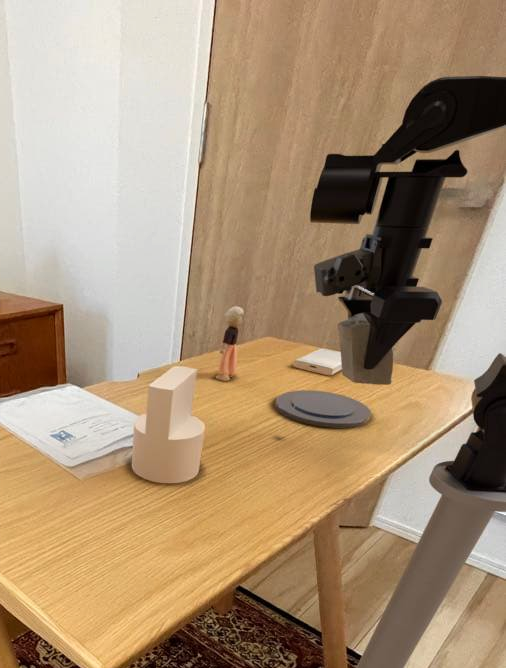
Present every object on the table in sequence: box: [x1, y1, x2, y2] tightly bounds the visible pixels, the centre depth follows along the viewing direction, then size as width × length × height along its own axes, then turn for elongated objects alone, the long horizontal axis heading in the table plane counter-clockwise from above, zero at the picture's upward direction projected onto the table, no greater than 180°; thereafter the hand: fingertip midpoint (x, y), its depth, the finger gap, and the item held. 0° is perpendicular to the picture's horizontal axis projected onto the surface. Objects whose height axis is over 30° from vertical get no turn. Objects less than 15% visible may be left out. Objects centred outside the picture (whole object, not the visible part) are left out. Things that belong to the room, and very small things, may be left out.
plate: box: [274, 389, 372, 429], centre depth 83 cm, size 15×15×1 cm
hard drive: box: [292, 348, 342, 376], centre depth 103 cm, size 2×8×12 cm
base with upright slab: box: [131, 365, 206, 484], centre depth 62 cm, size 9×9×12 cm
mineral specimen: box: [336, 313, 394, 386], centre depth 65 cm, size 7×9×8 cm
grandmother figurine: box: [215, 305, 245, 382], centre depth 93 cm, size 8×4×13 cm, turn 162°
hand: (359, 362), depth 67 cm, fingers closed on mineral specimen, 6 cm apart
